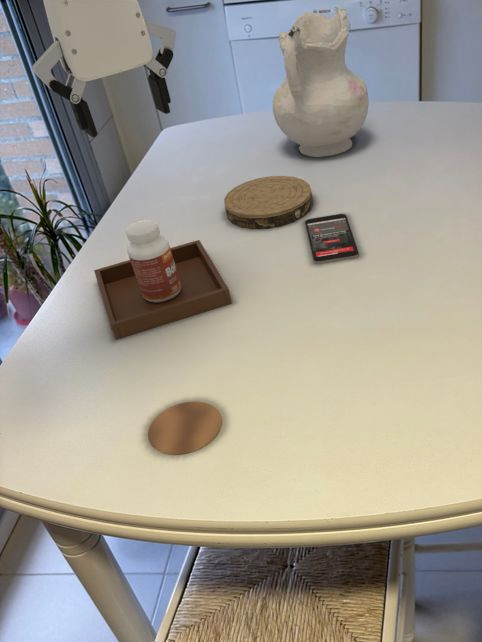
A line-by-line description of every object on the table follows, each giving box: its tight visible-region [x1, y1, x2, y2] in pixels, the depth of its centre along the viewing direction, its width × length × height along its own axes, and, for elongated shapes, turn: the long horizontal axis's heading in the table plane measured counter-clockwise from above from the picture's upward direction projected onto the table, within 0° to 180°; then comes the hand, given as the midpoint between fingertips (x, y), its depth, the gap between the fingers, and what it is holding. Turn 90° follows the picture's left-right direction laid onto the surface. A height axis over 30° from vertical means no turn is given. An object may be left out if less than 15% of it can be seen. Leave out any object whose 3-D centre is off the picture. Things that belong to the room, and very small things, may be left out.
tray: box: [94, 239, 233, 341], centre depth 100 cm, size 18×18×3 cm
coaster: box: [147, 401, 223, 456], centre depth 78 cm, size 9×9×1 cm
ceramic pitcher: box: [271, 6, 370, 158], centre depth 128 cm, size 22×20×25 cm
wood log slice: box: [223, 175, 314, 230], centre depth 117 cm, size 16×16×3 cm
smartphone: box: [304, 213, 360, 265], centre depth 107 cm, size 7×1×15 cm
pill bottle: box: [125, 219, 181, 303], centre depth 97 cm, size 6×6×11 cm
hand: (128, 122), depth 81 cm, fingers open, 9 cm apart
